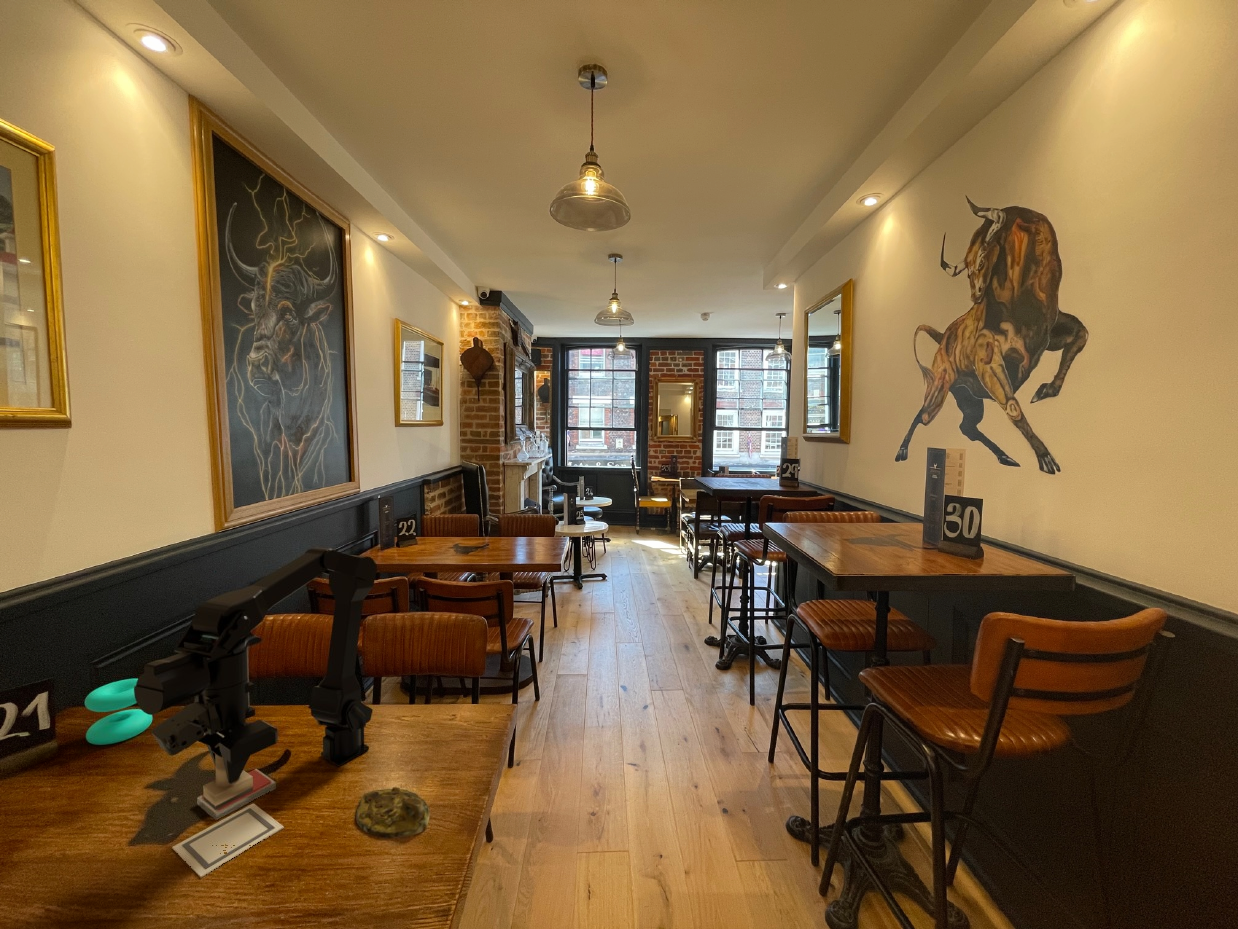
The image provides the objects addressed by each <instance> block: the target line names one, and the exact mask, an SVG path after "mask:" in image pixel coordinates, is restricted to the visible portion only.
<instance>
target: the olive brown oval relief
mask: <svg viewBox="0 0 1238 929" xmlns="http://www.w3.org/2000/svg"><path fill="white" fill-rule="evenodd" d="M355 817H356V818H355V819H356V823H357V825H358V826H359V827H360V828H361V829H362V830H363V831H364V832H366V833H367V834H370V835H372V836H373V835H374V836H377V837H380V838H387V839H398V838H404V837H410V836H413V835H417V834H419V833H423V832H424V831H425V830H427V827H428V824H429V820H430V809H429V806H428V805H427V802H426V801H425V800H424V799H423V798H422V797H421V796H420V795H418V794H416V793H415V792H414V791H413V792H412V791H410V790H407V789H404V788H402V789H401V787H396V786H393V787H392V788H386V789H375V790H372V791H368V792H365V793H364V794H362V795H361V797H360V799H359V802H358V805H357V809H356V816H355Z"/></svg>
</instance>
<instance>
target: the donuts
mask: <svg viewBox="0 0 1238 929" xmlns="http://www.w3.org/2000/svg"><path fill="white" fill-rule="evenodd" d="M137 680H138V678H127V679H122V680H118V681H113V682H110V683H108V684H104V685H103V686H102V685H101V686H100V687H97V688H96V689H94V690H92V691H90V693H89V694H87V696H86V697H85V699H84V706H85V708H86V709H87V710H89V711H91V712H97V713H105V712H106V713H107V712H114V711H118V710H121V711H118V712H114V713H111V714H109V715H107V716H104V717H102V718H101V719H98V720H97V721H96V722H95V723H92V725H91V726H89V728H88V730H87V731H86V734H85V739H86V741H87V743H90V744H92V745H96V746H98V745H99V746H102V745H103V746H105V745H111V744H117V743H120V742H123V741H124V742H125V741H126V740H129V739H131V738H134V737H136V736H138V735H139V734H141V733H143V732H144V731H146V730H147V729H148V728H149V727H150V726H151V724H152V722H153V715H149V714H146V713H145V712H143V711H142V710H141V709H140V708H137V709H136V708H134V709H133V708H132V709H131V708H130V709H126V710H125V708H128V707H131V706H134V705H136V704H137V702H136V699H135V695H134V687H135V686H136V683H137ZM122 709H124V710H122Z"/></svg>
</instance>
